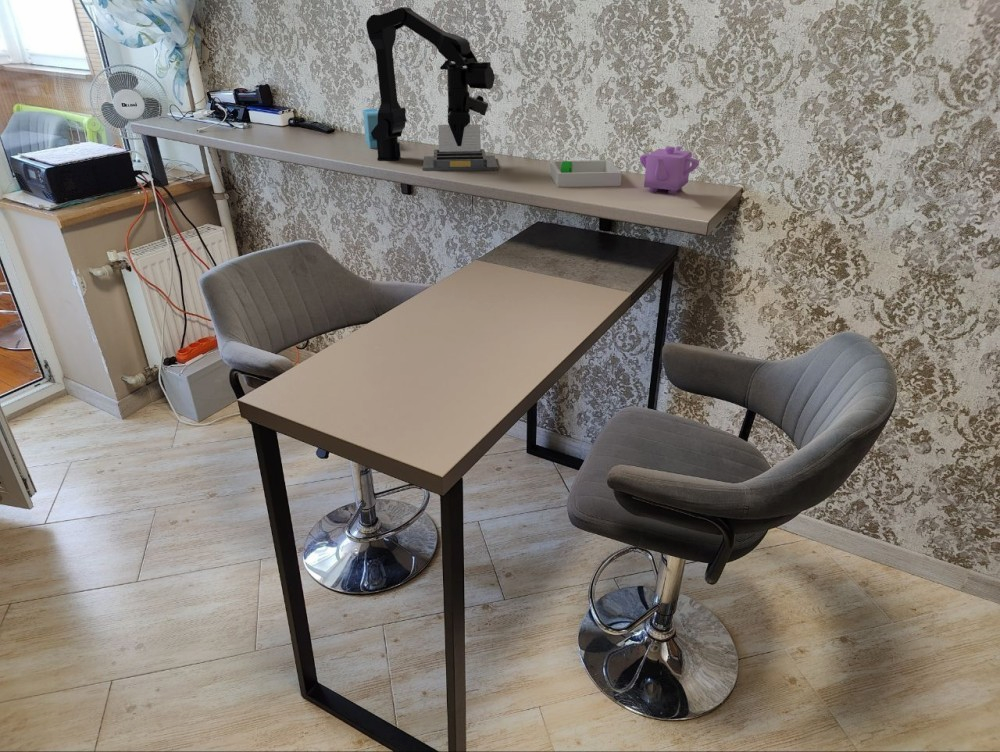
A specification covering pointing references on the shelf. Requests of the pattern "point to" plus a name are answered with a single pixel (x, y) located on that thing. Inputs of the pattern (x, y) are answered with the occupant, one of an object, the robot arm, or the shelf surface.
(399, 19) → the robot arm
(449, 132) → the panel
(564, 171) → the mechanical part
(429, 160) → the rack
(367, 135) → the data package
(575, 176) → the parts corral
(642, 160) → the teapot
